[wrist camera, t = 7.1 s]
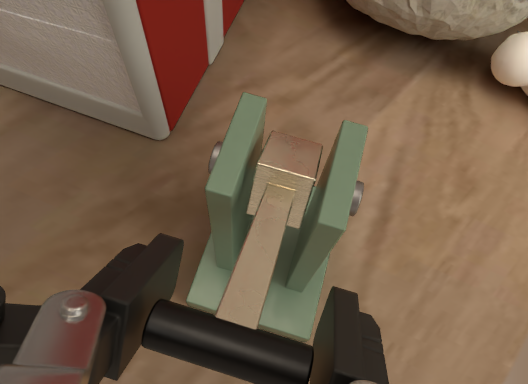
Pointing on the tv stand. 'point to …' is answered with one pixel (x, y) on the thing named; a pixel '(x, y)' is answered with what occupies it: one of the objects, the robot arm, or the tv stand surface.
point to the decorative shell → (446, 16)
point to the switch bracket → (294, 240)
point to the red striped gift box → (113, 55)
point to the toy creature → (512, 61)
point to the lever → (248, 281)
